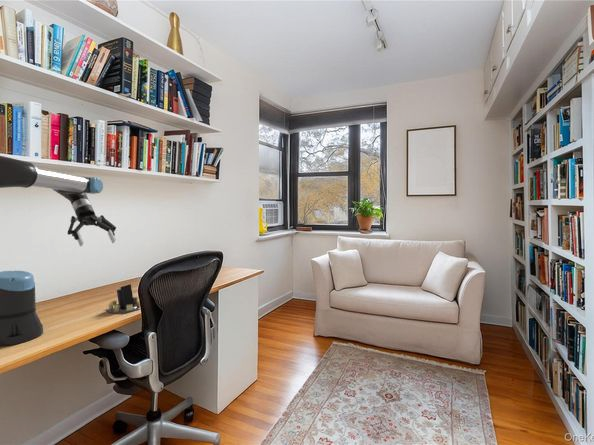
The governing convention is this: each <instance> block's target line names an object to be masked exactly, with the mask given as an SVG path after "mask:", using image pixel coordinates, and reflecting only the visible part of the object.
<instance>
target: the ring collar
mask: <svg viewBox="0 0 594 445" xmlns="http://www.w3.org/2000/svg"><path fill="white" fill-rule="evenodd" d="M133 301H134V307H133V304H128V305H126V310H124V307H123V308H120V305H119V303H117V302H118V300H117V299H115V300H114V299H113V300H112V301H110V303H108V304H107V305H108V307H107V312H108V313H109V314H114V315H115V314H116V315H117V314H128V313H133V312H137V311H139V310H141V309H140V303H139V296H133Z"/></svg>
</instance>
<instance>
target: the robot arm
mask: <svg viewBox="0 0 594 445" xmlns="http://www.w3.org/2000/svg"><path fill="white" fill-rule="evenodd" d="M31 187H37V188H44V189H51V190H53V191H54V192H56V193H57V194H59V195H60V196H62V197H64V198H65V199H66V200H68V201H69V202H70V204H71V206H72V209H73V211H74V214H75V216H76V217H75V216H74V215H72V216H71V218H70V225H69V227H68V230H67V235H69V236H70V235H71V236H72V237H73V238H74V240H75V241H77V242H78V244H79V247H83V244H84V240H83V238H82V235H81V233H80V230H81V228H83V227H84V226H95V227H99V228H100V229H101V230H104V231H106V232H107V235H108V237H109V239H110V241H111V243H112V244H115V242H116V238H115V235H116V233H115V231H116V229H117V227H116V225H114V224H113V223H111V222H110V220H107V218H105V216H104V215H100V216H97V215H96V213H95V211H94V209H93V206H92V204H91V202H90V199H89V198H88V195H87V194H90V195H91V194H92V195H96V194H101V192H103V190H104V183H103V181H102V179H101V178H99V177H94V176H92V177H88V176H83V175H78V174H72V173H69V172H65V171H64V172H63V171H59V170H54V169H49V168H45V167H41V166H40V167H39V166H35V164H33V163H32V162H28V161H24V160H21V159H17V158H12V157H9V156H8V157H7V156H2V155H0V189H2V188H24V189H25V188H27V189H28V188H31ZM77 222H79V224H77V225H76V227H75V228H74V225H75V223H77ZM73 228H74V229H73ZM36 303H37V302H36V282H35V277H34V275H33V274H32V273H31V272H28V271H25V270H4V271H0V347H6V346H7V347H8V346H14V345H17V344H20V343H21V344H22V343H25V342H29V341H32V340H34V339H36V338H38V337H40V336H42V335H43V333H44V326H43V324H42V322H41V320H40V318H39V315H38V314H37V308H36V306H37V305H36Z"/></svg>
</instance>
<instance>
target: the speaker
mask: <svg viewBox="0 0 594 445" xmlns="http://www.w3.org/2000/svg"><path fill="white" fill-rule="evenodd" d="M116 294H117V302H118V304H119V305H120V308H123V307H124V310H126V305H128V304H133V307H134V301H133V297H134V296H133V289H132V284H131V283H130V284H127V285H123V286H120V288H119V289H117V290H116Z"/></svg>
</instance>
